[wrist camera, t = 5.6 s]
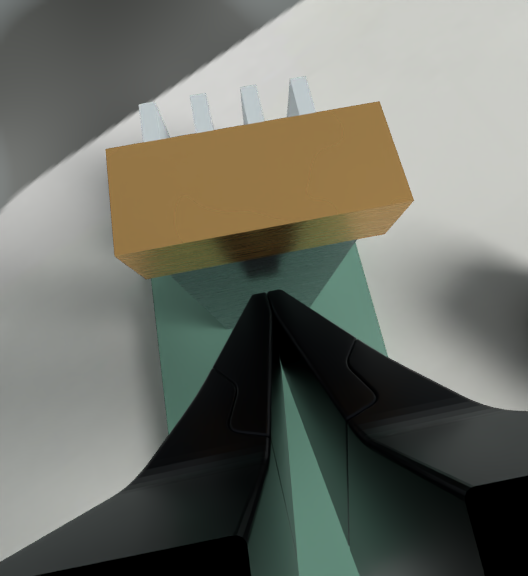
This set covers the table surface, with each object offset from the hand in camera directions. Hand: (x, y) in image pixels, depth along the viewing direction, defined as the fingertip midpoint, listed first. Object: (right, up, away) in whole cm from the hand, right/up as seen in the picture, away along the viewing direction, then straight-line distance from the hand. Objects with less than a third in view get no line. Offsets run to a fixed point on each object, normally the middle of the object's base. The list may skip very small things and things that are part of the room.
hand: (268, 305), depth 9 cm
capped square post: (0, +1, +7) cm, 7 cm away
